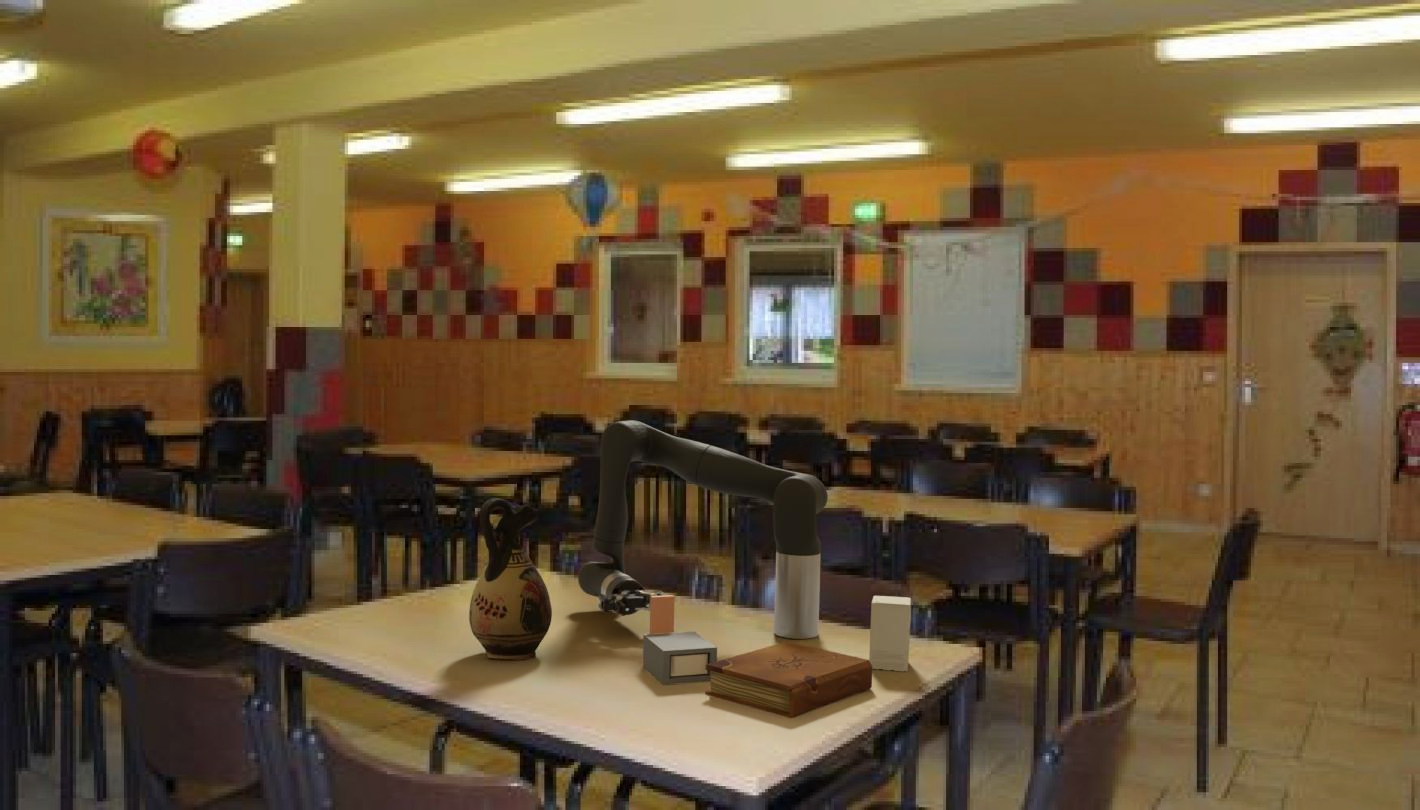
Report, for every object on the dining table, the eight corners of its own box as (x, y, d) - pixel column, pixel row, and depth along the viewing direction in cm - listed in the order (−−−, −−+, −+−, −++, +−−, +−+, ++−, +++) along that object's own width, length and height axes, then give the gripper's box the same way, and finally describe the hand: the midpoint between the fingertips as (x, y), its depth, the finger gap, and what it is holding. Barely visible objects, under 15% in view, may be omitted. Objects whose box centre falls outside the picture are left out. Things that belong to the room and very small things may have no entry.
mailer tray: (683, 654, 223) (684, 594, 222) (713, 678, 207) (715, 613, 206) (636, 657, 219) (638, 596, 219) (664, 682, 204) (665, 616, 203)
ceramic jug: (519, 640, 232) (522, 490, 230) (567, 656, 221) (570, 499, 219) (445, 654, 220) (447, 496, 218) (491, 672, 209) (494, 505, 208)
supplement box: (908, 672, 216) (910, 605, 215) (868, 669, 217) (870, 602, 217) (909, 662, 223) (911, 596, 222) (870, 659, 224) (872, 594, 224)
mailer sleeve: (693, 663, 218) (694, 631, 218) (716, 680, 207) (717, 647, 206) (642, 667, 215) (643, 634, 214) (662, 685, 203) (663, 651, 203)
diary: (792, 722, 187) (793, 687, 186) (705, 697, 199) (705, 664, 198) (871, 692, 204) (872, 659, 204) (786, 671, 216) (787, 640, 216)
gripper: (589, 576, 243) (610, 592, 228) (655, 574, 248) (679, 589, 233) (589, 612, 243) (609, 630, 228) (654, 609, 248) (678, 626, 233)
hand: (644, 609), depth 230 cm, fingers open, 8 cm apart
